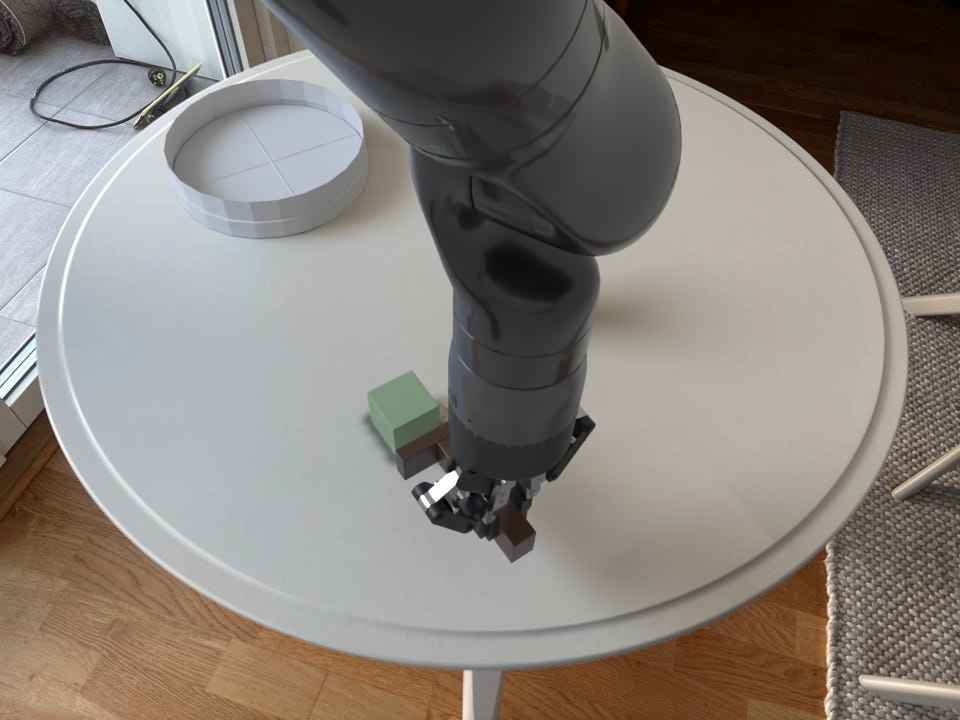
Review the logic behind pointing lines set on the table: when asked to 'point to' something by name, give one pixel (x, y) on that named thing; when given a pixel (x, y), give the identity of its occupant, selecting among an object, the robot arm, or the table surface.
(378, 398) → the block
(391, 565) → the table surface
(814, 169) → the table surface
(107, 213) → the table surface
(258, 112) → the dish
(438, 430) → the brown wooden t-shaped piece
